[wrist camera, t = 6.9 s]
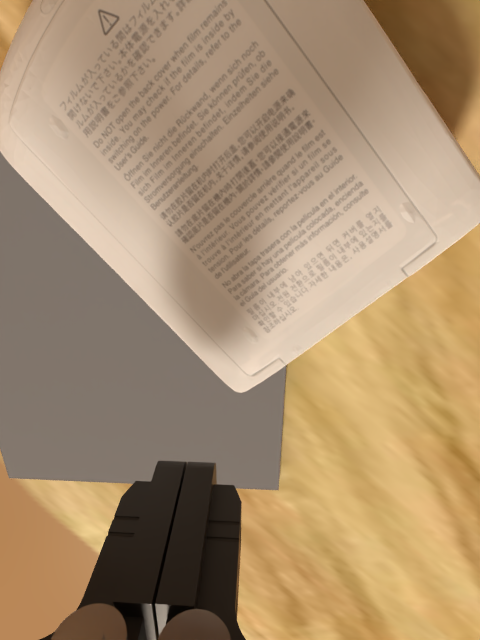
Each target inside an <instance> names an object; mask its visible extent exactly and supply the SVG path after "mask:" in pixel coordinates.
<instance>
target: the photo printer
mask: <svg viewBox="0 0 480 640" xmlns="http://www.w3.org/2000/svg"><path fill="white" fill-rule="evenodd" d="M0 152H1V153H2V155H3V156H4V157H5V159H6V160H7V161H8V162H9V164H10V165H11V166H12V167H13V168H14V169H15V170H16V171H17V172H18V173H19V174H20V175H21V176H22V177H23V179H24V180H25V181H26V182H27V183H28V184H29V185H30V186H31V187H32V188H33V189H34V190H35V191H36V192H37V193H38V194H39V195H40V196H41V197H42V198H43V199H44V200H45V201H46V202H47V203H48V204H49V205H50V206H51V207H52V208H53V209H54V210H55V211H56V212H57V213H58V214H59V215H60V216H61V217H62V218H63V220H65V221H66V222H67V223H68V224H69V225H70V226H71V227H72V228H73V229H74V230H75V231H76V232H77V233H78V234H79V235H80V236H81V237H82V238H83V239H84V240H85V241H86V242H87V243H88V245H89V246H91V247H92V248H93V249H94V250H95V251H96V252H97V254H98V255H99V256H100V257H101V258H102V259H103V260H104V261H105V262H106V263H107V264H108V265H109V266H110V267H111V268H112V269H113V270H114V271H115V272H116V273H117V274H118V275H119V276H120V277H121V278H122V279H123V280H124V281H125V282H126V283H127V284H128V285H129V286H130V287H131V288H132V289H133V290H134V291H135V292H136V293H137V294H138V295H139V296H140V297H141V298H142V299H143V300H144V301H145V302H146V303H147V304H148V306H149V307H150V308H151V309H152V310H153V311H154V312H156V314H157V315H158V316H159V317H160V318H161V319H162V320H163V321H164V322H165V323H166V324H167V325H168V326H169V327H170V328H171V329H172V330H173V331H174V332H175V333H176V334H177V335H178V336H179V337H180V338H181V339H182V340H183V341H184V342H185V343H186V344H187V345H188V346H189V347H190V348H191V349H192V350H193V352H194V353H195V354H196V355H197V356H198V357H199V358H200V359H201V360H202V361H203V362H204V363H205V364H206V365H207V366H208V367H209V368H210V369H211V370H212V371H213V372H214V373H215V374H216V375H217V376H218V377H219V378H220V379H221V380H222V381H223V382H224V383H225V384H227V385H228V386H229V387H230V388H231V389H233V390H234V391H236V392H240V393H242V392H245V391H248V390H249V389H251V388H252V387H254V386H256V385H257V384H259V383H261V382H262V381H264V380H265V379H267V378H268V377H270V376H271V375H273V374H274V373H276V372H277V371H279V370H280V369H282V368H283V367H284V366H286V365H287V364H288V363H289V362H291V361H292V360H294V359H295V358H297V357H298V356H299V355H301V354H302V353H304V352H305V351H306V350H308V349H309V348H311V347H312V346H313V345H315V344H316V343H317V342H319V341H320V340H322V339H323V338H324V337H326V336H327V335H329V334H330V333H331V332H333V331H334V330H335V329H337V328H338V327H340V326H341V325H342V324H344V323H345V322H346V321H348V320H349V319H351V318H352V317H353V316H355V315H356V314H357V313H359V312H360V311H362V310H363V309H364V308H366V307H367V306H369V305H370V304H371V303H373V302H374V301H375V300H377V299H378V298H380V297H381V296H382V295H384V294H385V293H386V292H388V291H389V290H391V289H392V288H393V287H395V286H396V285H398V284H399V283H401V282H402V281H403V280H405V279H406V278H407V277H409V276H411V275H412V274H414V273H415V272H417V271H418V270H419V269H421V268H422V267H423V266H425V265H426V264H427V263H429V262H430V261H431V260H433V259H434V258H435V257H437V256H438V255H439V254H441V253H442V252H443V251H445V250H446V249H447V248H449V247H450V246H451V245H453V244H454V243H455V242H457V241H458V240H459V239H461V238H462V237H463V236H464V235H466V234H467V233H468V232H469V231H471V230H472V229H473V228H474V227H476V226H477V225H478V224H479V223H480V176H479V174H478V173H477V171H476V169H475V168H474V166H473V165H472V163H471V162H470V160H469V159H468V157H467V156H466V154H465V153H464V151H463V150H462V148H461V147H460V145H459V144H458V142H457V141H456V139H455V138H454V136H453V135H452V133H451V132H450V130H449V129H448V127H447V126H446V124H445V122H444V121H443V119H442V118H441V116H440V115H439V113H438V112H437V110H436V109H435V107H434V106H433V104H432V103H431V101H430V100H429V98H428V97H427V95H426V94H425V93H424V91H423V90H422V88H421V87H420V85H419V84H418V82H417V81H416V79H415V78H414V76H413V75H412V73H411V71H410V70H409V68H408V67H407V65H406V64H405V62H404V61H403V59H402V58H401V56H400V55H399V53H398V52H397V50H396V49H395V47H394V46H393V44H392V42H391V41H390V39H389V38H388V36H387V35H386V33H385V32H384V30H383V29H382V27H381V26H380V24H379V23H378V21H377V20H376V18H375V17H374V15H373V14H372V12H371V11H370V9H369V8H368V6H367V5H366V3H365V2H364V0H33V1H32V3H31V5H30V6H29V8H28V10H27V12H26V14H25V16H24V18H23V20H22V22H21V23H20V25H19V28H18V30H17V32H16V34H15V36H14V38H13V40H12V43H11V45H10V48H9V50H8V53H7V55H6V58H5V60H4V63H3V66H2V68H1V71H0Z"/></svg>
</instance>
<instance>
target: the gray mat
mask: <svg viewBox="0 0 480 640" xmlns="http://www.w3.org/2000/svg"><path fill="white" fill-rule="evenodd" d="M285 376H286V366H284V367H283V368H282V369H280V370H279V371H277V372H276V373H274V374H273V375H271V376H270V377H268V378H267V379H265V380H264V381H262V382H261V383H259V384H257V385H256V386H254V387H252V388H251V389H249V390H248V391H245V392H242V393H240V392H236V391H234V390H233V389H231V388H230V387H229V386H228V385H227V384H225V383H224V382H223V381H222V380H221V379H220V378H219V377H218V376H217V375H216V374H215V373H214V372H213V371H212V370H211V369H210V368H209V367H208V366H207V365H206V364H205V363H204V362H203V361H202V360H201V359H200V358H199V357H198V356H197V355H196V354H195V353H194V352H193V350H192V349H191V348H190V347H189V346H188V345H187V344H186V343H185V342H184V341H183V340H182V339H181V338H180V337H179V336H178V335H177V334H176V333H175V332H174V331H173V330H172V329H171V328H170V327H169V326H168V325H167V324H166V323H165V322H164V321H163V320H162V319H161V318H160V317H159V316H158V315H157V314H156V312H154V311H153V310H152V309H151V308H150V307H149V306H148V304H147V303H146V302H145V301H144V300H143V299H142V298H141V297H140V296H139V295H138V294H137V293H136V292H135V291H134V290H133V289H132V288H131V287H130V286H129V285H128V284H127V283H126V282H125V281H124V280H123V279H122V278H121V277H120V276H119V275H118V274H117V273H116V272H115V271H114V270H113V269H112V268H111V267H110V266H109V265H108V264H107V263H106V262H105V261H104V260H103V259H102V258H101V257H100V256H99V255H98V254H97V252H96V251H95V250H94V249H93V248H92V247H91V246H89V245H88V243H87V242H86V241H85V240H84V239H83V238H82V237H81V236H80V235H79V234H78V233H77V232H76V231H75V230H74V229H73V228H72V227H71V226H70V225H69V224H68V223H67V222H66V221H65V220H63V218H62V217H61V216H60V215H59V214H58V213H57V212H56V211H55V210H54V209H53V208H52V207H51V206H50V205H49V204H48V203H47V202H46V201H45V200H44V199H43V198H42V197H41V196H40V195H39V194H38V193H37V192H36V191H35V190H34V189H33V188H32V187H31V186H30V185H29V184H28V183H27V182H26V181H25V180H24V179H23V177H22V176H21V175H20V174H19V173H18V172H17V171H16V170H15V169H14V168H13V167H12V166H11V165H10V164H9V162H8V161H7V160H6V159H5V157H4V156H3V155H2V153H1V152H0V450H1V453H2V456H3V460H4V463H5V466H6V470H7V473H8V476H9V478H19V479H41V480H64V481H86V482H108V483H130V484H134V483H135V481H151V480H152V477H153V474H154V471H155V467H156V465H157V462H158V461H182V462H187V463H188V462H209V463H216V477H217V484H221V485H234V486H235V488H241V489H264V490H278V489H279V473H280V456H281V440H282V424H283V408H284V392H285Z"/></svg>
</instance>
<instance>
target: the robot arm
mask: <svg viewBox="0 0 480 640" xmlns="http://www.w3.org/2000/svg"><path fill="white" fill-rule="evenodd" d="M240 550H241V500H240V498H239V495H238V493H237V491H236V488H235V486H234V485H221V484H217V477H216V463H209V462H188V463H187V462H182V461H158V462H157V465H156V467H155V471H154V474H153V477H152V480H151V481H135V483H134V484H133V485H132V486H131V487H130V488H129V489H128V490H127V492H126V493H125V494H124V495H123V496H122V498H121V500H120V503H119V505H118V508H117V511H116V513H115V517H114V520H113V521H112V524H111V526H110V529H109V531H108V536H107V537H106V539H105V542H104V544H103V547H102V550H101V552H100V555H99V557H98V560H97V563H96V565H95V568H94V571H93V573H92V576H91V578H90V581H89V584H88V586H87V589H86V591H85V594H84V597H83V599H82V601H81V603H80V605H79V607H78V608H77V610H76V611H75V612H73V613H72V614H70V615H69V616H68V617H67V618H66V619H65V620H64V621H63V622H62V623H61V624H60V625H59V627H58V628H57V629H56V631H55V632H53V633H52V634H50V635H48V636H47V637H45V638H42V639H40V640H246V639H245V638H244V636H243V635H242V633H241V631H240V628H239V626H238V623H237V607H238V588H239V569H240Z"/></svg>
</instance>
